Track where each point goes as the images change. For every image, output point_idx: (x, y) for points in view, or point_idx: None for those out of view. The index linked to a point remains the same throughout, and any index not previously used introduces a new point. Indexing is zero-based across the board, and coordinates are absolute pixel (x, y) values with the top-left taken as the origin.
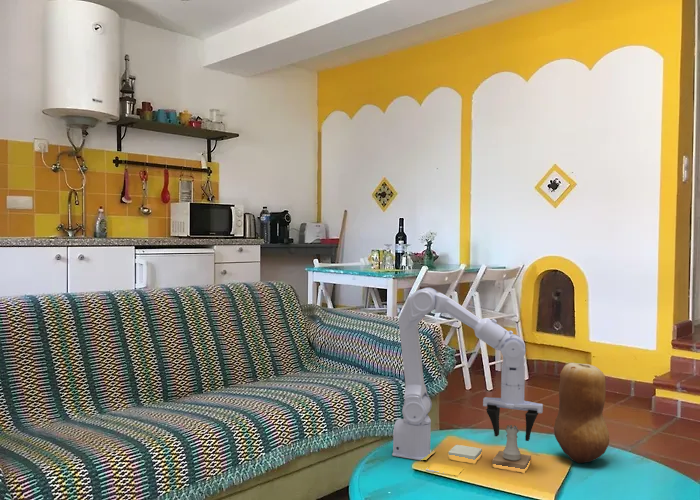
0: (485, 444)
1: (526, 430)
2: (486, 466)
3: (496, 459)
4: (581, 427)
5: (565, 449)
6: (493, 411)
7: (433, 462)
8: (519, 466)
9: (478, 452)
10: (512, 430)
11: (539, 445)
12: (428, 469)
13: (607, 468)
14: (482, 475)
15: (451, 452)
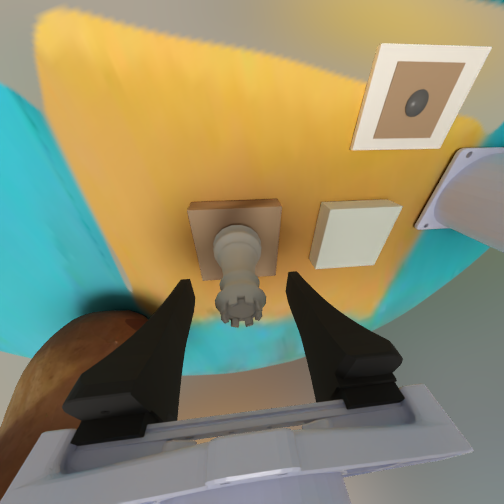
0: None
1: (173, 306)
2: (292, 202)
3: (271, 215)
4: (39, 395)
5: (139, 326)
6: (359, 354)
7: (432, 158)
8: (204, 207)
9: (322, 242)
10: (233, 292)
11: (222, 342)
12: (481, 52)
13: (70, 312)
14: (294, 117)
15: (394, 207)
